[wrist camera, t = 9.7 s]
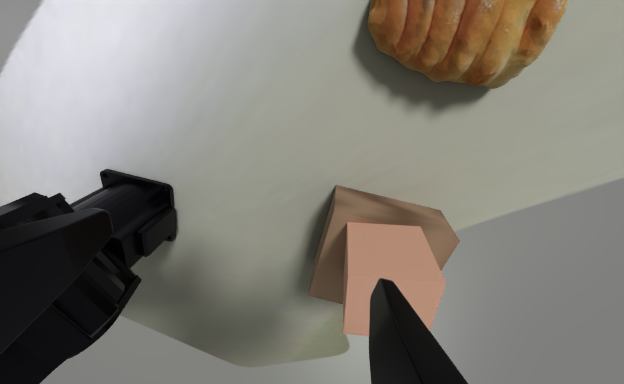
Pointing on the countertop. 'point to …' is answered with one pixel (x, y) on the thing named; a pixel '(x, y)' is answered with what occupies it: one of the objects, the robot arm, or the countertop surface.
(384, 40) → the pastry
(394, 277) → the terracotta cube
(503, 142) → the countertop surface
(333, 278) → the brown wooden square block
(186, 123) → the countertop surface
